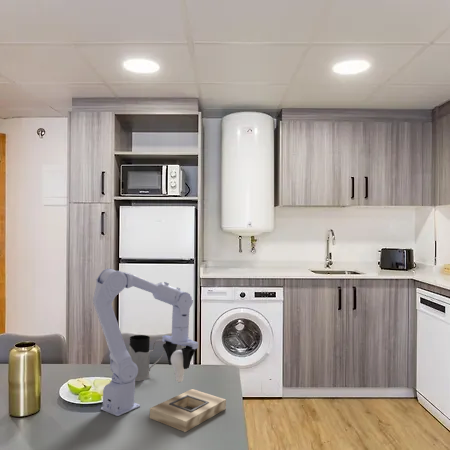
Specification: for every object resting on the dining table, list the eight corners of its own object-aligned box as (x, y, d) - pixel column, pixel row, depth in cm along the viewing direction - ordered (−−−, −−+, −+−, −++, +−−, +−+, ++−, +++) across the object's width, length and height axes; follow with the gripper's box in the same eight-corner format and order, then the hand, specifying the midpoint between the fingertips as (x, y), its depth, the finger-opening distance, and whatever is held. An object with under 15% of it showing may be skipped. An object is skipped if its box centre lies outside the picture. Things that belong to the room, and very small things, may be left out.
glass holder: (125, 373, 167) (127, 335, 167) (162, 371, 171) (163, 333, 171) (127, 381, 158) (129, 340, 159) (165, 378, 163) (167, 339, 163)
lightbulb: (187, 385, 143) (187, 353, 143) (169, 385, 143) (169, 352, 143) (189, 379, 149) (189, 347, 149) (171, 378, 149) (171, 347, 149)
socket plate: (185, 432, 121) (185, 420, 121) (149, 418, 129) (150, 407, 129) (225, 408, 137) (226, 398, 137) (191, 397, 145) (192, 388, 145)
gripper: (204, 327, 145) (202, 367, 145) (172, 321, 153) (170, 359, 153) (191, 331, 139) (189, 373, 139) (158, 324, 148) (157, 363, 148)
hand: (178, 366), depth 146 cm, fingers closed on lightbulb, 6 cm apart
